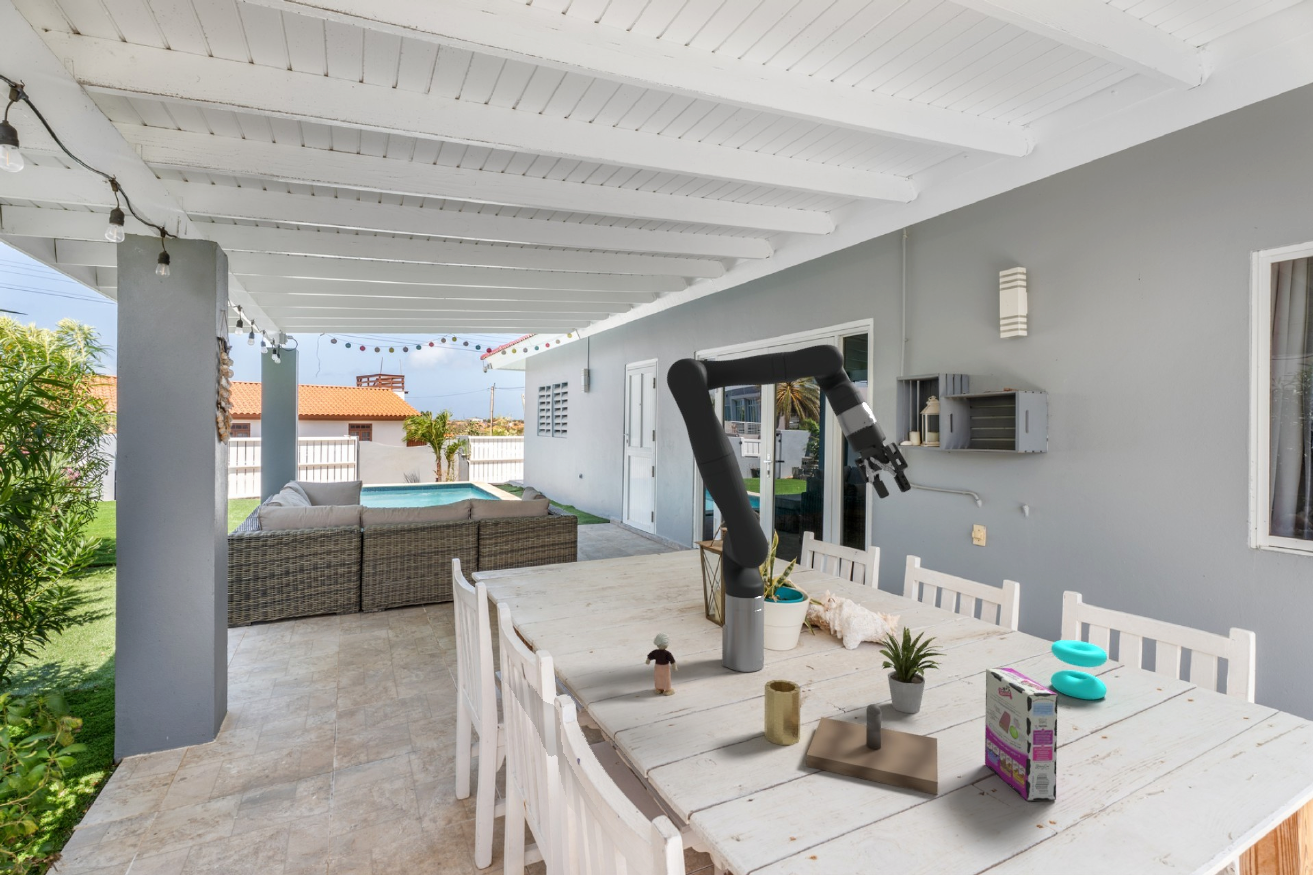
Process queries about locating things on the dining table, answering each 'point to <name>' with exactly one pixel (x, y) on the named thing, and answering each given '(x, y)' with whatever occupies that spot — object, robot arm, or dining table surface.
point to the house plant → (907, 671)
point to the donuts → (1075, 680)
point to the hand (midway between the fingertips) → (895, 494)
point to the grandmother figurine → (662, 665)
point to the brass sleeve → (782, 712)
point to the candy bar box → (1021, 733)
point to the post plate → (875, 753)
